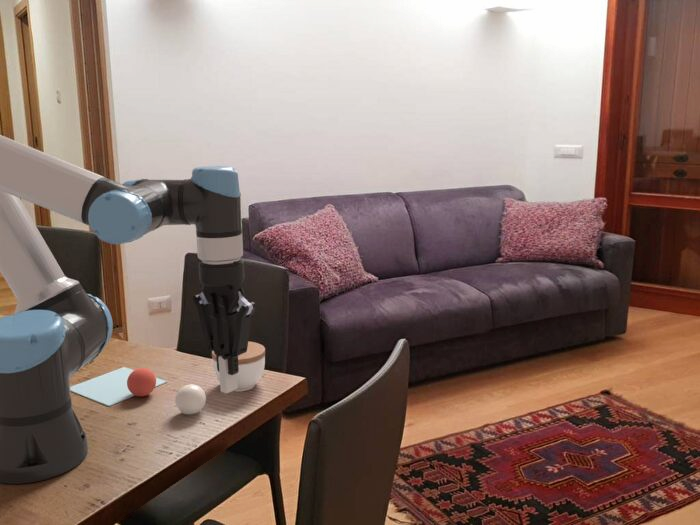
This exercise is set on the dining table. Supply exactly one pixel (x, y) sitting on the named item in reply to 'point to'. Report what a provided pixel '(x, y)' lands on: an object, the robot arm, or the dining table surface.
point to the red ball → (141, 382)
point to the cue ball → (190, 399)
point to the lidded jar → (247, 366)
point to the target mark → (108, 387)
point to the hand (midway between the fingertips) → (229, 389)
